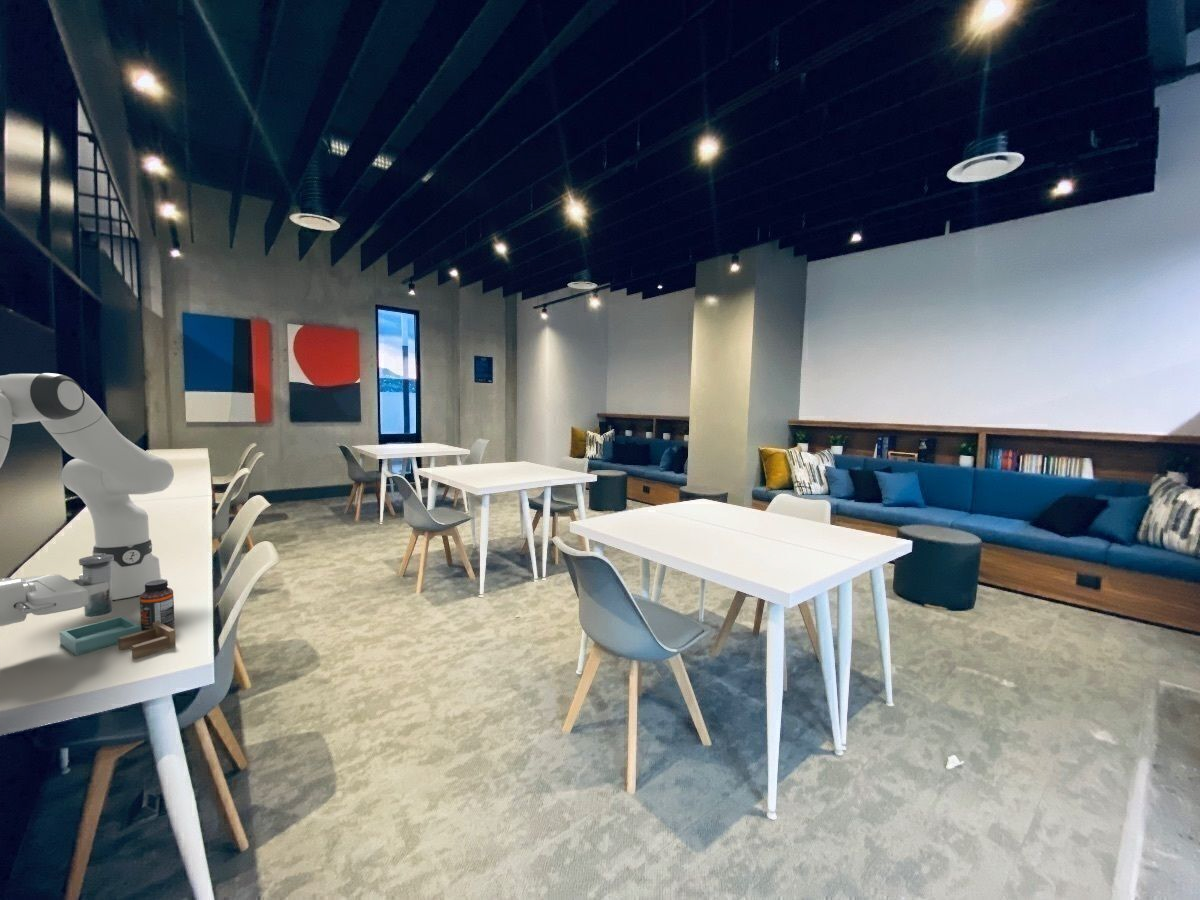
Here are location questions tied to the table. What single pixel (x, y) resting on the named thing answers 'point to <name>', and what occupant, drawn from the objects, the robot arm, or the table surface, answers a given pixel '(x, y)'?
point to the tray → (97, 634)
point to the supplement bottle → (156, 604)
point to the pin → (94, 573)
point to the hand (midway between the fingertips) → (103, 583)
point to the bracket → (149, 640)
